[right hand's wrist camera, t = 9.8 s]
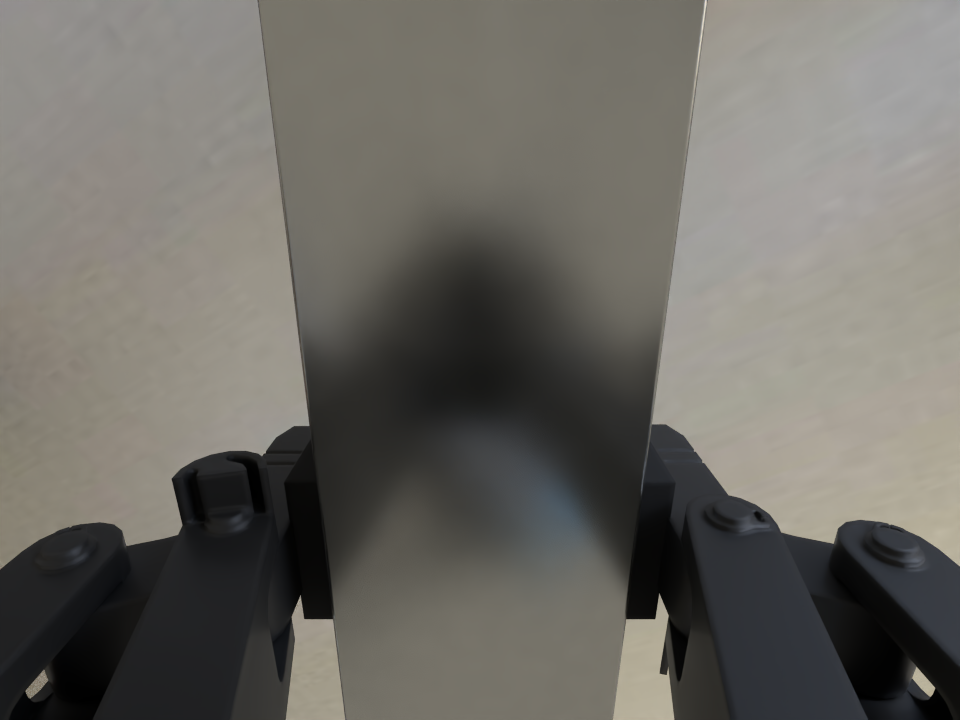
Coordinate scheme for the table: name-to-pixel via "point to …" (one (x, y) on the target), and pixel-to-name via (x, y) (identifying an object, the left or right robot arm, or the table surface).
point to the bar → (481, 329)
